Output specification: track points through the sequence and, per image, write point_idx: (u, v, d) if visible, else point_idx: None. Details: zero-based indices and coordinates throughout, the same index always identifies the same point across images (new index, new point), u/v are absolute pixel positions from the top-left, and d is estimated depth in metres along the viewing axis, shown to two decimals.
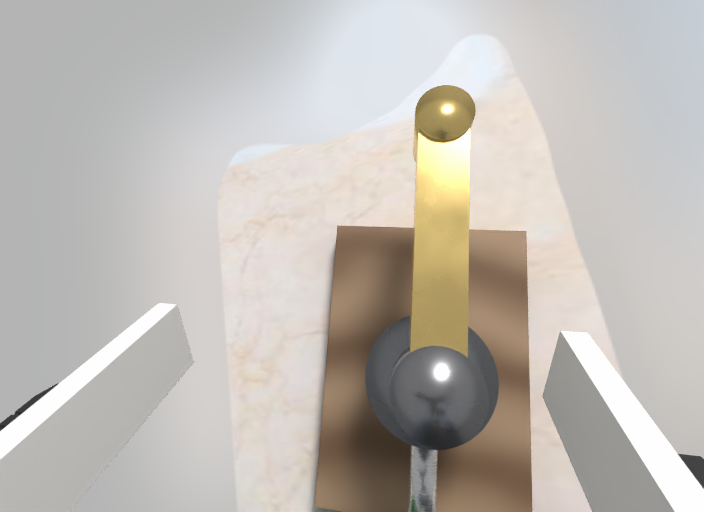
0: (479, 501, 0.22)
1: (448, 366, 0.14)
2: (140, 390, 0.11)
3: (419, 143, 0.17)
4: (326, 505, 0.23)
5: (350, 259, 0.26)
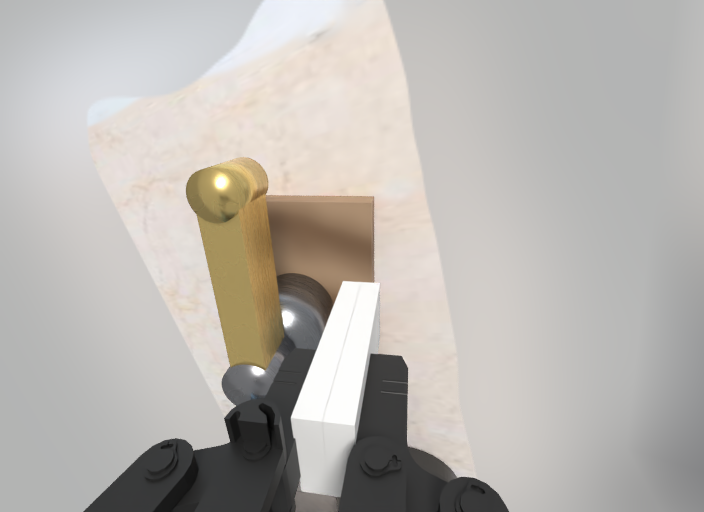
0: None
1: (253, 377, 0.22)
2: None
3: (199, 225, 0.18)
4: None
5: None
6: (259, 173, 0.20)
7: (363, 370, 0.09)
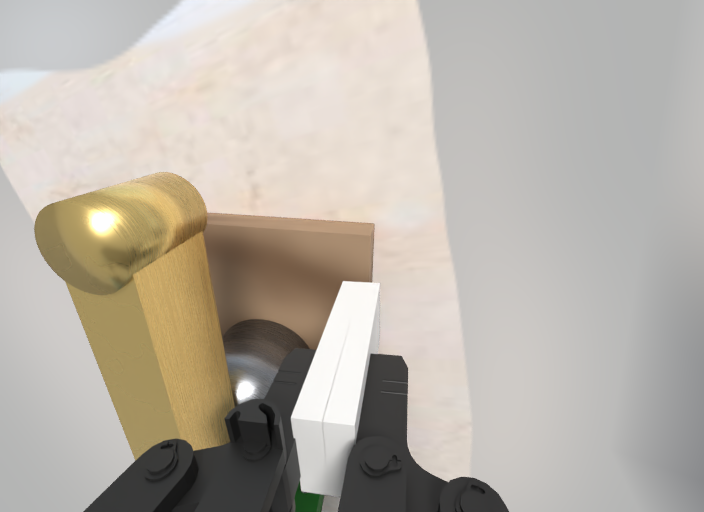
0: None
1: None
2: None
3: (70, 293, 0.10)
4: None
5: None
6: (188, 201, 0.12)
7: (363, 370, 0.09)
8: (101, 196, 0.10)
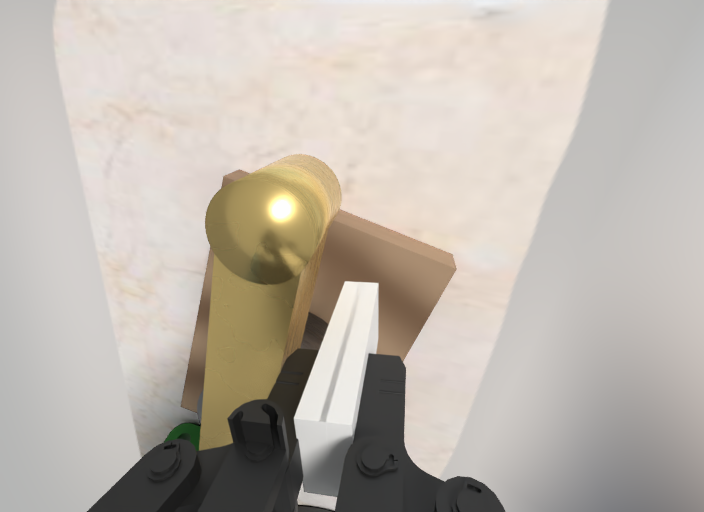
0: None
1: None
2: None
3: (214, 272, 0.09)
4: (190, 408, 0.28)
5: None
6: (336, 194, 0.11)
7: (361, 370, 0.09)
8: (290, 179, 0.09)
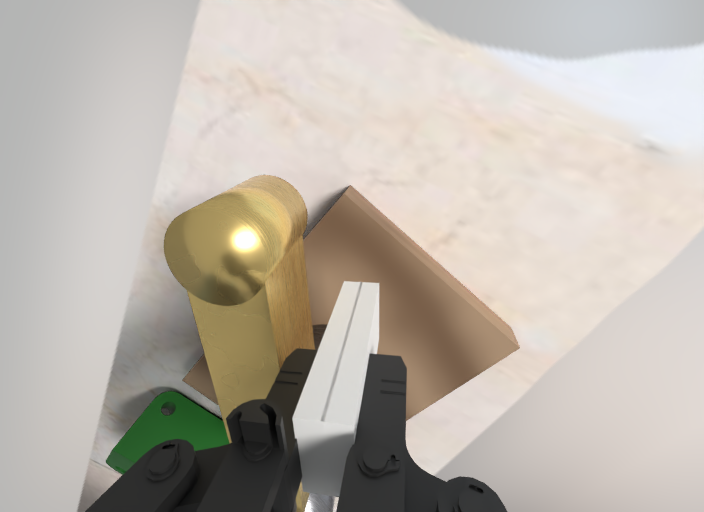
0: None
1: None
2: None
3: (192, 305, 0.10)
4: (192, 384, 0.27)
5: (331, 242, 0.20)
6: (295, 204, 0.11)
7: (362, 370, 0.09)
8: (230, 201, 0.09)
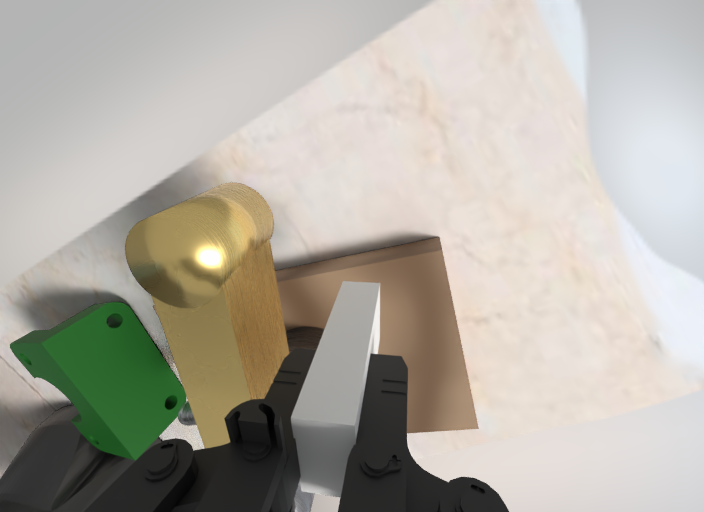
0: None
1: None
2: None
3: (157, 308, 0.10)
4: None
5: (399, 278, 0.20)
6: (258, 209, 0.12)
7: (363, 370, 0.09)
8: (188, 208, 0.10)
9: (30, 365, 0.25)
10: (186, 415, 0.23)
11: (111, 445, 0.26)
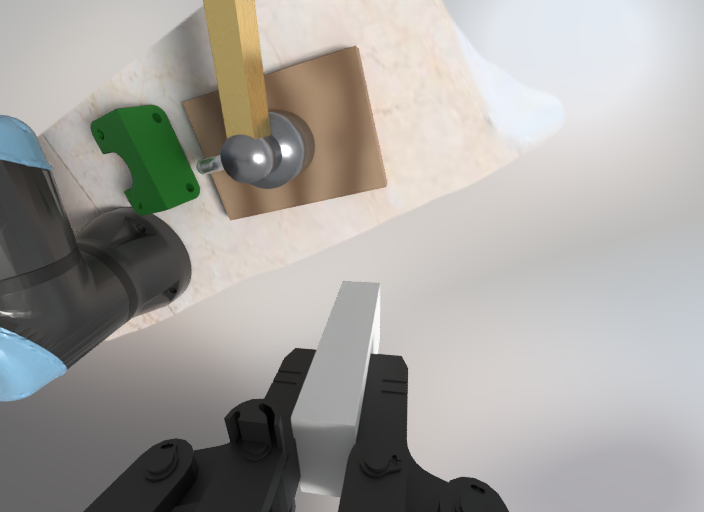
0: (233, 193, 0.41)
1: (244, 144, 0.28)
2: None
3: None
4: (186, 109, 0.38)
5: (332, 68, 0.34)
6: None
7: (363, 370, 0.09)
8: None
9: (102, 140, 0.38)
10: (202, 163, 0.36)
11: (151, 202, 0.40)
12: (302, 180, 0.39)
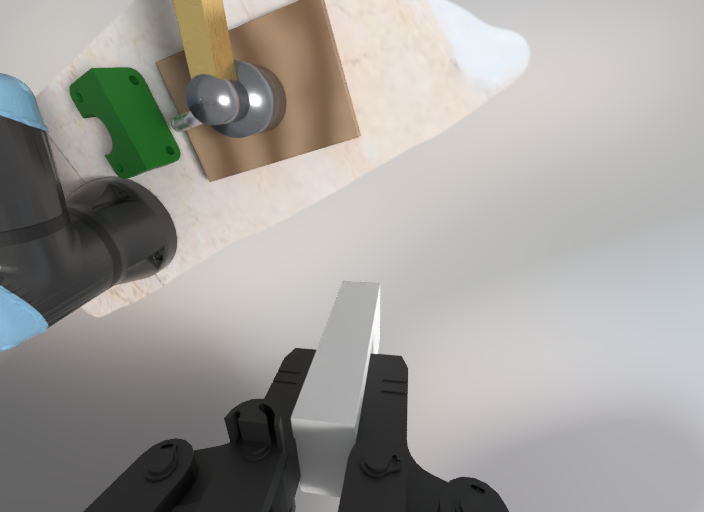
0: (211, 153, 0.42)
1: (208, 84, 0.29)
2: None
3: None
4: (160, 69, 0.39)
5: (298, 17, 0.35)
6: None
7: (363, 370, 0.09)
8: None
9: (81, 103, 0.39)
10: (176, 119, 0.37)
11: (131, 163, 0.41)
12: (276, 135, 0.40)
